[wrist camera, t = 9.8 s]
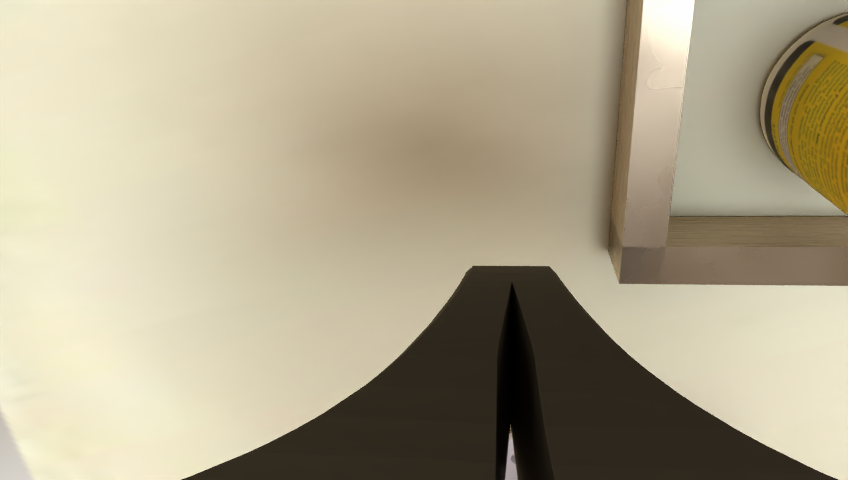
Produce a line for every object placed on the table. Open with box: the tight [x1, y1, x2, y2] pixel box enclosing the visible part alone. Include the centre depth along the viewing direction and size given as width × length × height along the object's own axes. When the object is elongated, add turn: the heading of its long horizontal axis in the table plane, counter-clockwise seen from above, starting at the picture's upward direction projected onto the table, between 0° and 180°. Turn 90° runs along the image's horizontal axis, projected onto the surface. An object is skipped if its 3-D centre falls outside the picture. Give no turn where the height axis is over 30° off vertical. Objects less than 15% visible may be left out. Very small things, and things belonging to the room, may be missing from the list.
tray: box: [608, 0, 848, 286], centre depth 18 cm, size 9×9×2 cm
